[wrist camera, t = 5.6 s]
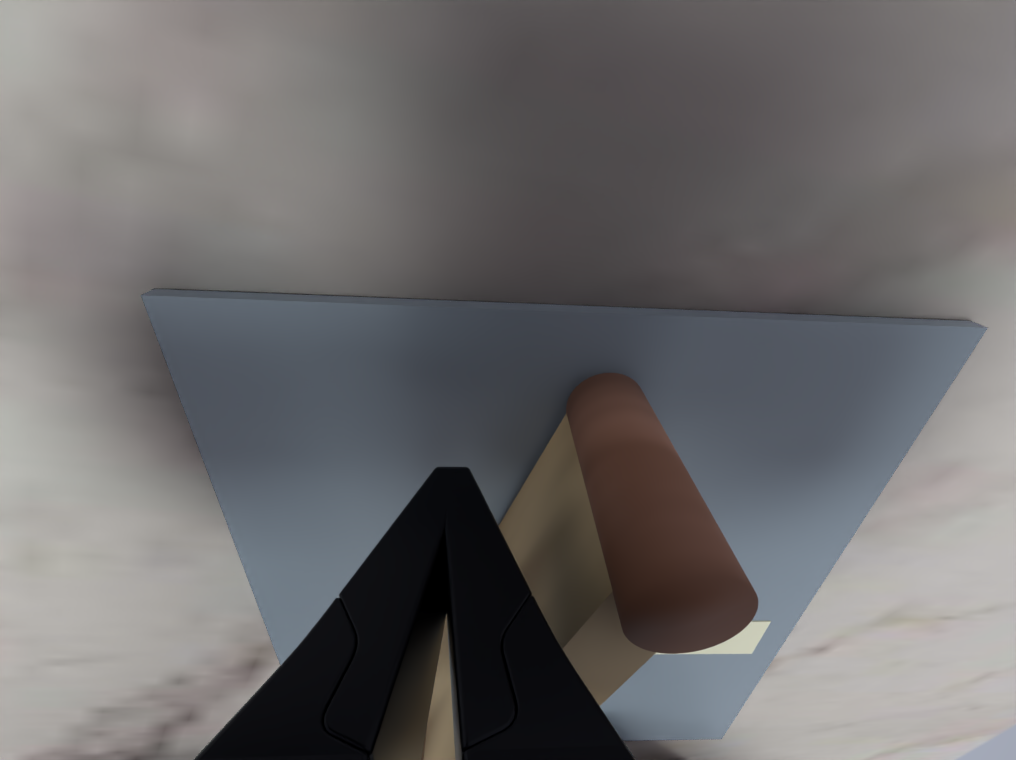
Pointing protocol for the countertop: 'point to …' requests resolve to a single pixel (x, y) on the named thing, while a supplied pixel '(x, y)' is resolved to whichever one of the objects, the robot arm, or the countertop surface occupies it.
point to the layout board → (547, 440)
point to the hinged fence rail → (614, 549)
